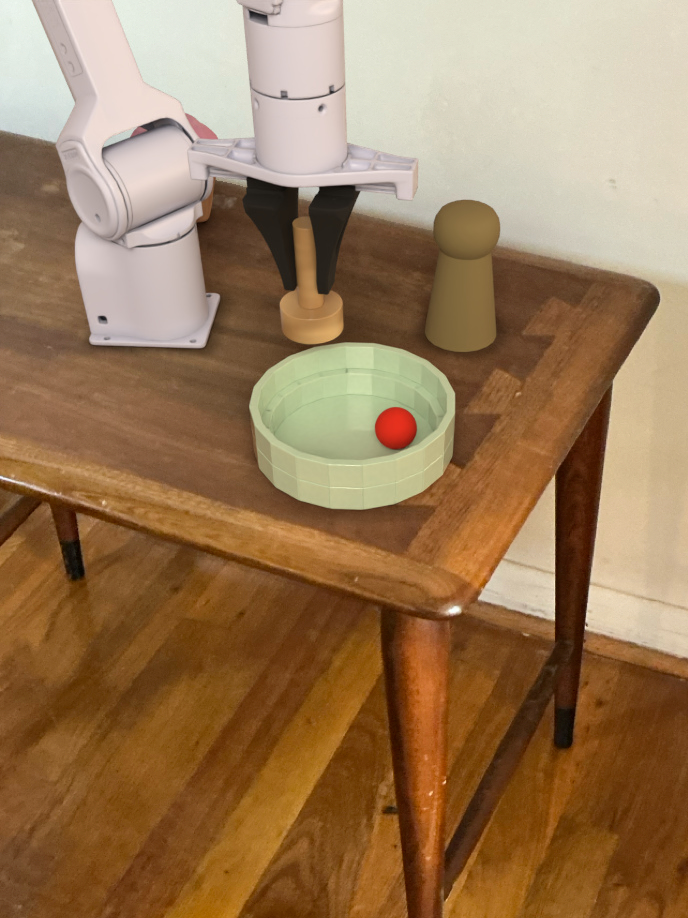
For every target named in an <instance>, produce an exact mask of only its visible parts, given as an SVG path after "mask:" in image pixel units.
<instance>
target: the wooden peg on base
mask: <svg viewBox="0 0 688 918" xmlns="http://www.w3.org/2000/svg"><path fill="white" fill-rule="evenodd" d="M292 226H293V240H294V253H295V267H296V280H297V286H296V288H295V290H294V291H289V292H287V293H286V294H285V295H283V296H282V297H281V299H280V301H279V314H280V325H281V332H282V334H283V335H284V336H285V338H287V339H288V340H290V341H293V342H295V343H297V344H303V345H319V344H324V343H327V342H330V341H333V340H335V339H336V338H338V337H339V336H340V335H341V334H342V333H343V330H344V326H345V325H344V324H345V323H344V301H343V299H342V297H341V296H340V295H339V294H338V293H337V292H335V291H334V290H332V289H331V290H330V292H329V294H328V295H324V294H318V290H317V284H316V249H315V241H314V235H313V230H312V225H311V221H310V217H309V215H308V216H305V215H304V216H298V218H296V219H295V220H294V221H293V223H292Z"/></svg>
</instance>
